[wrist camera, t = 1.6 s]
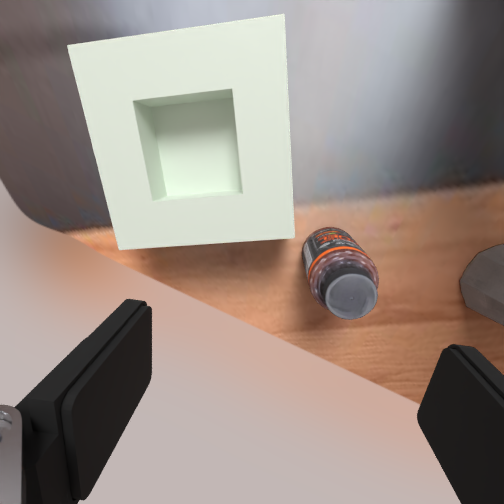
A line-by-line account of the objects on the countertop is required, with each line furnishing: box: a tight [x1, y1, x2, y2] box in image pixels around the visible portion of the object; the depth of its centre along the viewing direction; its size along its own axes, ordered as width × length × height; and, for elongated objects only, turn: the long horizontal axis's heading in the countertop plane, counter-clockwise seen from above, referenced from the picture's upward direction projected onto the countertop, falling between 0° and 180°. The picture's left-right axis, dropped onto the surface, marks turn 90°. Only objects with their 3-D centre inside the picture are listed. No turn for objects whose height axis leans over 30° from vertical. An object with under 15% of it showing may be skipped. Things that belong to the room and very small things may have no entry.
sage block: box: [67, 14, 295, 250], centre depth 27 cm, size 16×16×8 cm
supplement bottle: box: [302, 227, 379, 320], centre depth 27 cm, size 6×6×11 cm
